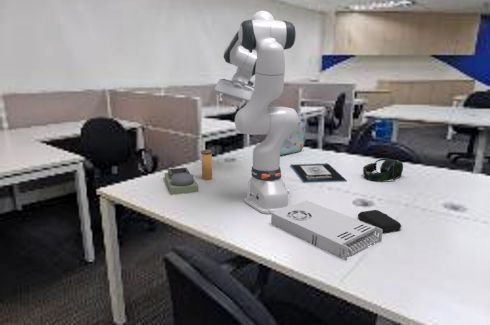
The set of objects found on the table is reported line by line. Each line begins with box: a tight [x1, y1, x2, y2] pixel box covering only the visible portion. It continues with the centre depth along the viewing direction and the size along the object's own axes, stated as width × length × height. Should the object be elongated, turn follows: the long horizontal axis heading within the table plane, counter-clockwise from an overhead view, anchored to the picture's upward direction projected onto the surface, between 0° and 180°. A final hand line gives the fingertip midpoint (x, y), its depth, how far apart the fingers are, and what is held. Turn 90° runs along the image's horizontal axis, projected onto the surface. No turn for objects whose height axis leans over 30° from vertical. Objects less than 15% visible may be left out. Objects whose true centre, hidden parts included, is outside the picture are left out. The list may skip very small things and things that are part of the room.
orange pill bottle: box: [200, 149, 213, 181], centre depth 186 cm, size 5×5×14 cm
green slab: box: [164, 167, 199, 196], centre depth 177 cm, size 24×12×6 cm, turn 18°
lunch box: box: [280, 120, 307, 156], centre depth 236 cm, size 27×10×21 cm, turn 130°
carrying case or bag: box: [357, 209, 402, 233], centre depth 137 cm, size 11×3×15 cm
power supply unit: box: [270, 200, 384, 261], centre depth 130 cm, size 19×33×5 cm, turn 39°
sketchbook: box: [290, 162, 348, 184], centre depth 196 cm, size 22×30×2 cm
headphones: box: [362, 157, 404, 182], centre depth 189 cm, size 13×13×20 cm
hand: (229, 105), depth 182 cm, fingers open, 8 cm apart
